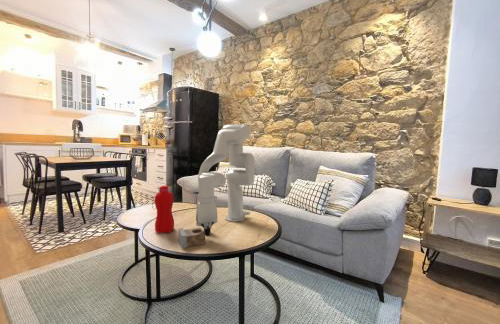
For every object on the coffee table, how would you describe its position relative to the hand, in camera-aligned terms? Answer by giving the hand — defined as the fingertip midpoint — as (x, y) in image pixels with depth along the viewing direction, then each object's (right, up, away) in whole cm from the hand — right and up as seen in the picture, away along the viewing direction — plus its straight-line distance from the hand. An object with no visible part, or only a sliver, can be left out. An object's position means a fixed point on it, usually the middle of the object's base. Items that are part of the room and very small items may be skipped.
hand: (207, 235), depth 117 cm
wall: (-11, -3, -5) cm, 12 cm away
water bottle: (-27, -1, +12) cm, 29 cm away
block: (-6, -2, -3) cm, 7 cm away
